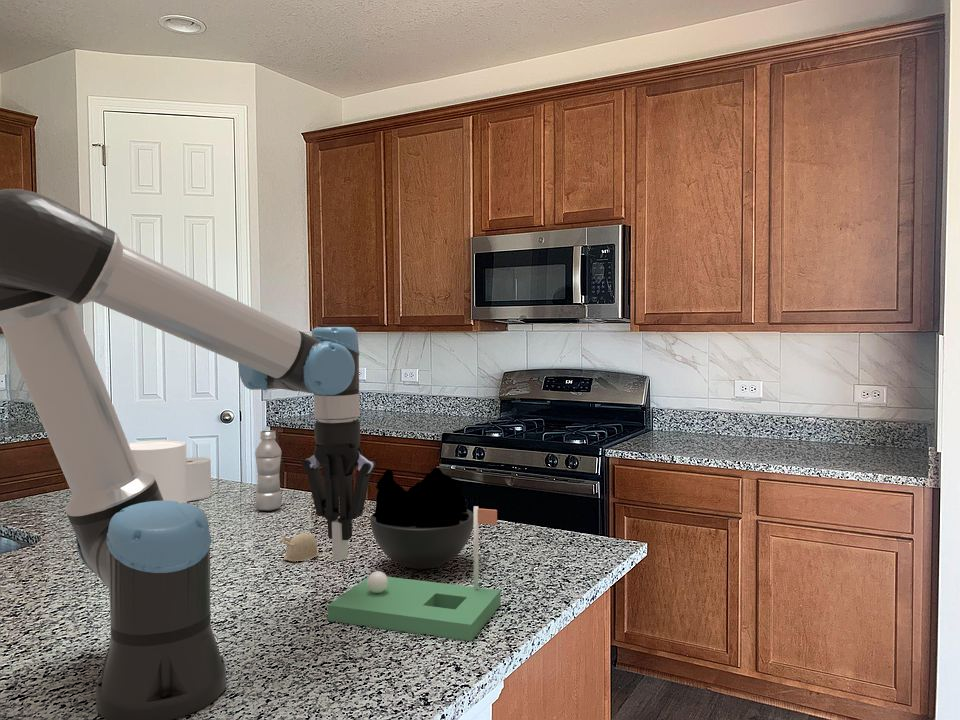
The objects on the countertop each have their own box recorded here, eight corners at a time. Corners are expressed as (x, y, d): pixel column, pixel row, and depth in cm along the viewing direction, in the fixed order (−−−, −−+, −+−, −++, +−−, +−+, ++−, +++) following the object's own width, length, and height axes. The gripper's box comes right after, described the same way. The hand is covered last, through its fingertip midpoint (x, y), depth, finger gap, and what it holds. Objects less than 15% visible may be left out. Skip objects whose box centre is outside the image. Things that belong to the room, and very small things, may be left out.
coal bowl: (493, 560, 146) (493, 466, 145) (436, 592, 129) (436, 485, 128) (411, 545, 157) (410, 457, 156) (348, 572, 139) (348, 474, 138)
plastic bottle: (250, 512, 184) (248, 432, 183) (265, 505, 191) (264, 429, 190) (272, 514, 182) (271, 433, 181) (287, 507, 189) (286, 430, 188)
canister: (187, 538, 162) (185, 447, 161) (119, 545, 157) (116, 451, 156) (187, 522, 174) (185, 438, 173) (124, 528, 169) (122, 442, 168)
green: (471, 641, 109) (471, 531, 108) (327, 620, 117) (326, 517, 116) (500, 604, 123) (500, 507, 122) (371, 588, 131) (370, 496, 130)
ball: (382, 597, 120) (382, 576, 120) (363, 594, 121) (363, 573, 121) (391, 590, 123) (391, 569, 123) (372, 587, 124) (372, 567, 124)
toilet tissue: (203, 490, 208) (202, 455, 208) (218, 498, 199) (218, 461, 198) (164, 496, 201) (163, 460, 201) (178, 504, 192) (177, 466, 192)
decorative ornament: (323, 558, 148) (322, 532, 148) (283, 566, 143) (283, 539, 143) (314, 553, 151) (314, 527, 151) (275, 561, 146) (275, 534, 146)
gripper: (382, 417, 125) (385, 554, 126) (314, 415, 129) (318, 548, 130) (361, 423, 117) (365, 569, 119) (290, 421, 122) (294, 561, 123)
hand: (340, 557), depth 124 cm, fingers closed
